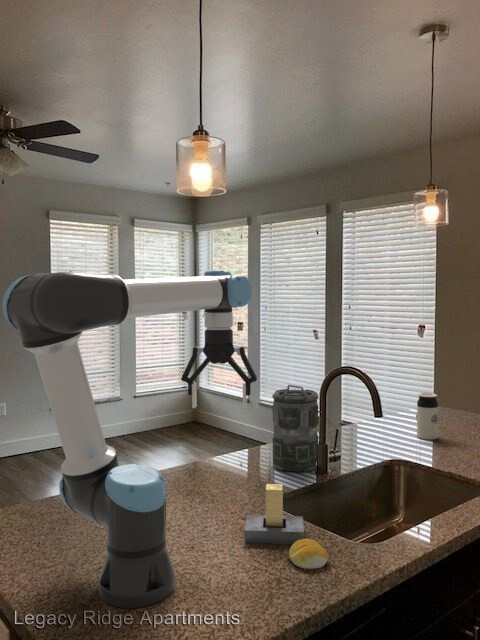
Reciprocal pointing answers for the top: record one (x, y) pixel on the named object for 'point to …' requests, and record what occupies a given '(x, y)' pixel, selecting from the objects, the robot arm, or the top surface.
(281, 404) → the canister
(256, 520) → the grey slotted block
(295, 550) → the bread roll
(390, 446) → the top surface
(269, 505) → the brass peg
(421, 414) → the travel mug
